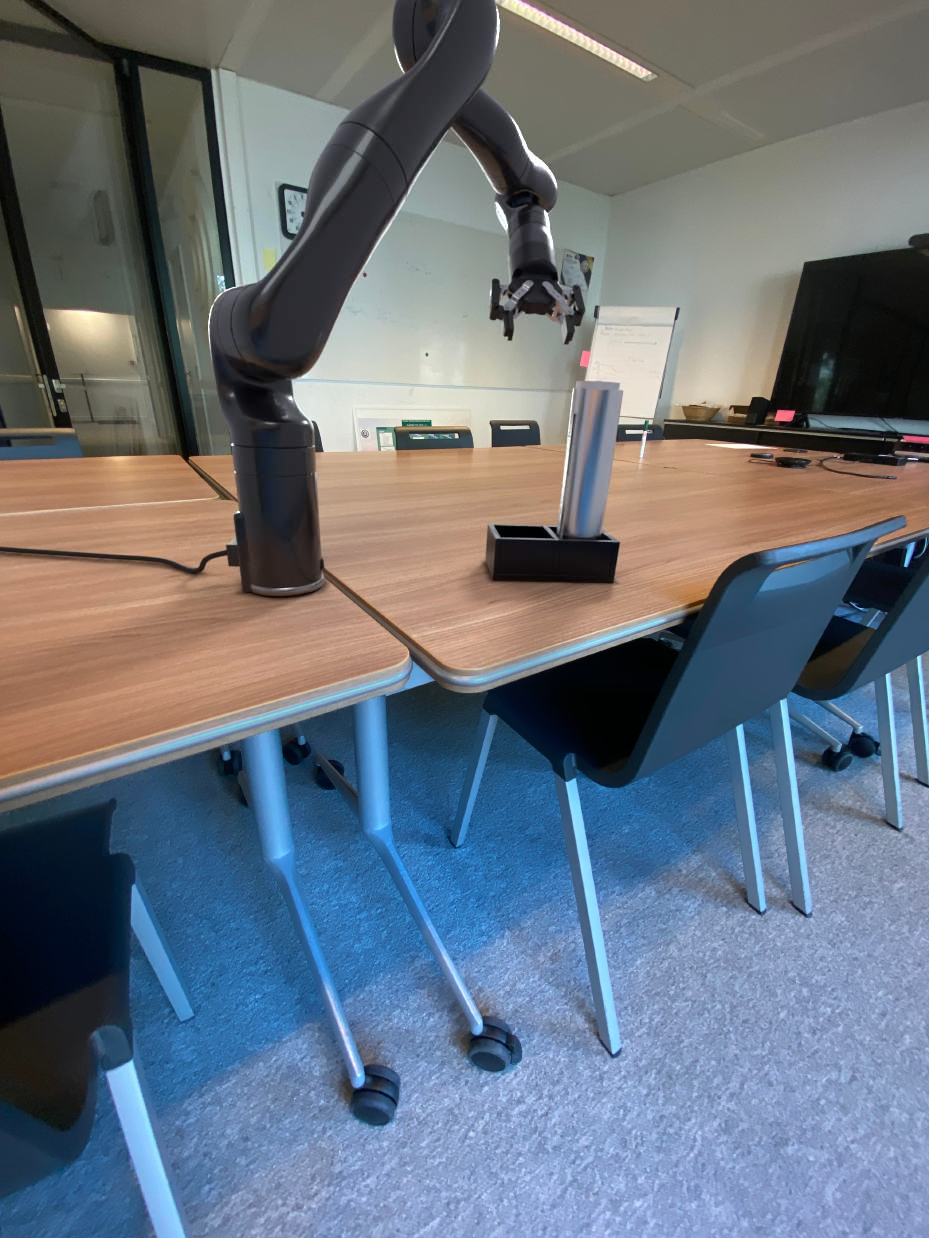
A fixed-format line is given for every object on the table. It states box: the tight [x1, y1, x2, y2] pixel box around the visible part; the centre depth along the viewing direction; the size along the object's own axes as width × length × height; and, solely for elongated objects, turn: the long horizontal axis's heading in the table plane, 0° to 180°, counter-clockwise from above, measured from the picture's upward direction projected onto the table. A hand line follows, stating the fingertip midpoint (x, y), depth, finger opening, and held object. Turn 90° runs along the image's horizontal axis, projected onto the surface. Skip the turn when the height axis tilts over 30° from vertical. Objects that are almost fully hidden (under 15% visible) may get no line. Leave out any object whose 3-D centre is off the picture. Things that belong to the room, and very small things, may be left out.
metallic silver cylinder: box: [556, 380, 624, 540], centre depth 74 cm, size 6×6×25 cm
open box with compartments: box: [484, 523, 621, 584], centre depth 78 cm, size 17×9×6 cm, turn 95°
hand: (539, 337), depth 78 cm, fingers open, 8 cm apart
